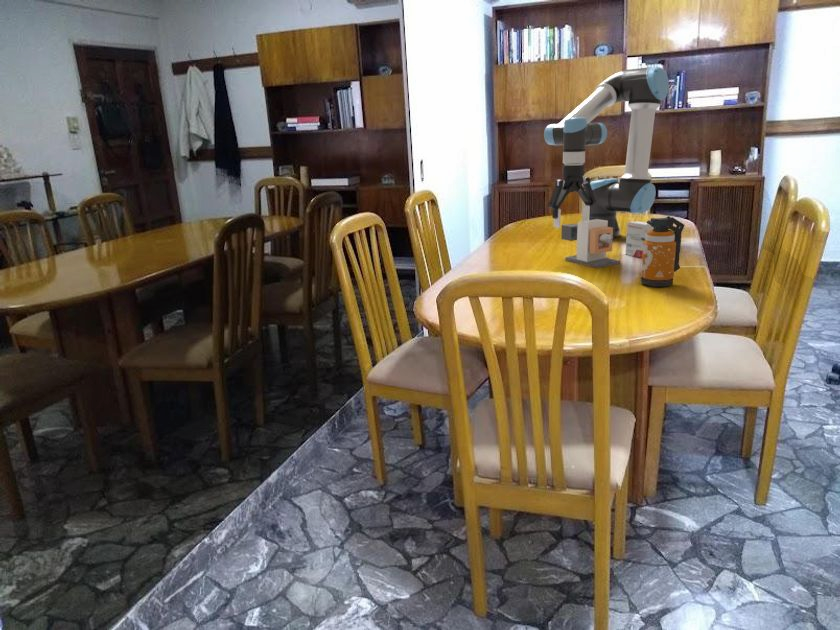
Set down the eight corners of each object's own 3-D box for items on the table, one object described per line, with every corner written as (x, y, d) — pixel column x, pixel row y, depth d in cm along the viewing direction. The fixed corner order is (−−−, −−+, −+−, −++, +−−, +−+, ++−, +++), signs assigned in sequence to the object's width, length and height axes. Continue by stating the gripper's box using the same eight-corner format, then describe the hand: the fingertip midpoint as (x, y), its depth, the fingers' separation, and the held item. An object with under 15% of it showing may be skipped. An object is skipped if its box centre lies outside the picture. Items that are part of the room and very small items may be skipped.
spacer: (589, 253, 209) (590, 229, 206) (606, 249, 212) (607, 226, 210) (594, 254, 207) (595, 230, 204) (611, 251, 210) (613, 227, 208)
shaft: (561, 239, 222) (561, 225, 220) (571, 237, 224) (572, 223, 222) (603, 247, 205) (604, 232, 203) (614, 245, 207) (615, 230, 205)
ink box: (652, 256, 217) (655, 223, 214) (642, 258, 215) (644, 224, 212) (635, 252, 225) (636, 220, 221) (624, 254, 223) (626, 221, 219)
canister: (635, 281, 187) (639, 215, 181) (670, 279, 188) (676, 213, 182) (648, 289, 178) (653, 220, 172) (685, 286, 179) (691, 217, 173)
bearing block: (565, 260, 218) (566, 220, 214) (586, 255, 223) (587, 217, 219) (598, 268, 205) (600, 226, 201) (620, 263, 210) (622, 222, 205)
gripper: (592, 161, 222) (589, 220, 228) (538, 166, 210) (537, 228, 216) (607, 162, 215) (604, 223, 222) (553, 167, 204) (551, 230, 210)
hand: (571, 225), depth 219 cm, fingers open, 13 cm apart
